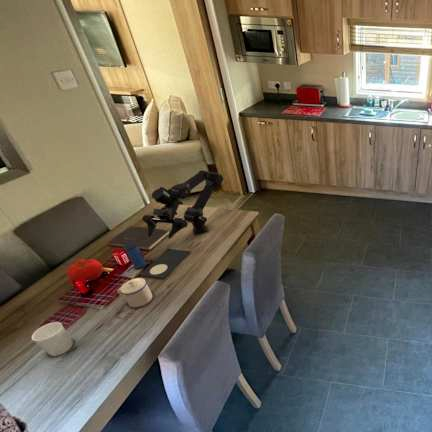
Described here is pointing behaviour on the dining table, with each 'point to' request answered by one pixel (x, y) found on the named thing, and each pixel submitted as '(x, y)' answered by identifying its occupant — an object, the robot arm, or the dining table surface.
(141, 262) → the tube
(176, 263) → the mat
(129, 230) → the hardcover book
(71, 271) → the tomato
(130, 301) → the teacup with lid
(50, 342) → the white cup
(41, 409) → the dining table surface
